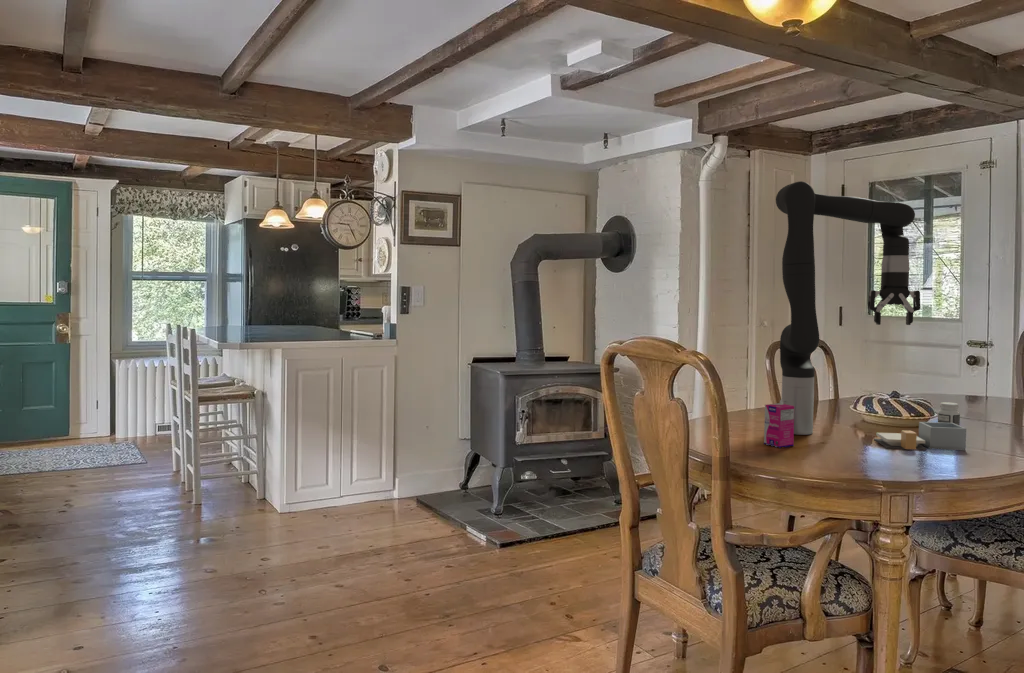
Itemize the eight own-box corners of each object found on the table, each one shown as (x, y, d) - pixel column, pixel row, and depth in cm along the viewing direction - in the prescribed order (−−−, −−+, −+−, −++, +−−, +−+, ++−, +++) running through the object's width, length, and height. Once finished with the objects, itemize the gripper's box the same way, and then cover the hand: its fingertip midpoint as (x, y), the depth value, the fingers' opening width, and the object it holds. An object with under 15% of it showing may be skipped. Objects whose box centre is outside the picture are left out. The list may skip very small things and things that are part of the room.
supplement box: (762, 444, 215) (764, 404, 215) (778, 442, 218) (779, 402, 217) (778, 448, 210) (780, 407, 210) (794, 446, 213) (795, 405, 212)
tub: (929, 448, 211) (930, 427, 211) (918, 442, 220) (919, 421, 220) (965, 450, 210) (966, 428, 209) (952, 443, 219) (953, 422, 218)
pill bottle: (953, 434, 233) (955, 402, 232) (962, 438, 227) (964, 405, 227) (933, 434, 233) (935, 401, 233) (942, 437, 228) (943, 404, 227)
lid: (876, 439, 222) (876, 423, 222) (912, 440, 220) (913, 424, 220) (891, 449, 208) (892, 432, 208) (930, 450, 207) (930, 433, 206)
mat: (887, 448, 212) (887, 446, 212) (873, 440, 223) (874, 438, 223) (926, 449, 210) (926, 448, 210) (910, 441, 222) (910, 440, 222)
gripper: (916, 271, 234) (913, 324, 235) (866, 271, 237) (864, 323, 238) (925, 270, 227) (922, 325, 228) (873, 270, 229) (871, 325, 230)
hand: (893, 324), depth 233 cm, fingers open, 8 cm apart
